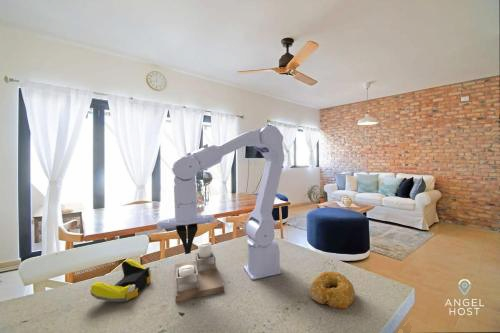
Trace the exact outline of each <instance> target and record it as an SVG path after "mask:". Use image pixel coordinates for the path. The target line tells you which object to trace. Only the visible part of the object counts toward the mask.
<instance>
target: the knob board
mask: <svg viewBox="0 0 500 333" xmlns="http://www.w3.org/2000/svg"><path fill="white" fill-rule="evenodd" d="M185 265H193V266H194V272H195V274H192V275H187V276H182V277H179V268H180V267H182V266H185ZM218 270H219V269H218V268H217V264H216V255H215V253H214V251H213V250H212V257H209V258H204V259H199V253H198V251H197V252H195V260H194V261H193V260H192V261H188V262H181V263H176V264H174V283H175V303H179V302H185V301H189V300H192V299H196V298H202V297H206V296H209V295H213V294H218V293H222V292H225V285H224V283H223V280H222V277H221V276H220V273H219V271H218Z"/></svg>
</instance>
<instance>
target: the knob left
mask: <svg viewBox="0 0 500 333" xmlns="http://www.w3.org/2000/svg"><path fill="white" fill-rule="evenodd" d="M192 274H195V272H194V266H193V265H185V266H182V267H180V268H179V277H182V276H187V275H192Z"/></svg>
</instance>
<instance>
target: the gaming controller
mask: <svg viewBox="0 0 500 333" xmlns="http://www.w3.org/2000/svg"><path fill="white" fill-rule="evenodd" d="M152 269H153V268H152V267H150V266H149V267H147V266H146V267H144V266H143V265H142V264H140V263H138V262H137V261H136V260H134V259H130V258H129V259H126V260H124V261H122V263H121V270H122V273H123V277H122V278H121V279H120V280H119V281H118V282H117V283H115V284H114V285H113V284H108V283H106V282H101V281H96V282H93V283H91V287H90V295H91V296H92V297H94V299H96V300H101V301H106V302H119V303H124V302H127V301H129V300H131V299H133V298H135V297H138V295H139V294H140V293H141V291H142V290H143V289H145V287H146V286H147V285H148V284H150V282H151V278H152V273H151V272H152Z"/></svg>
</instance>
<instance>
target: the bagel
mask: <svg viewBox="0 0 500 333" xmlns="http://www.w3.org/2000/svg"><path fill="white" fill-rule="evenodd" d="M355 291H356V290H355V288H354V286H353V283H352V282H351V281H350V280H349V278H347V277H346V276H345V274H341V273H339V272H335V271H324V272H322V273H320V274H318V275H317V276H316V278H315V279H314V280H313V281H312V283H311V287H310V289H309V297H310V298H311V299H313V301H315V302H317V303H318V304H320V305H321V304H322V305H325V304H326V305H328V306H329V307H332V308H333V309H335V308H337V309H338V308H339V309H347V308H348V307H349V306H350V305H351V304H352V303H353V301H355V297H356V296H355V293H356V292H355Z"/></svg>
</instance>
